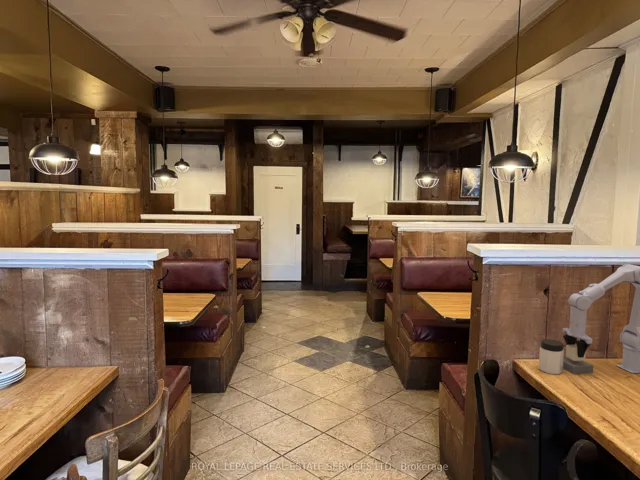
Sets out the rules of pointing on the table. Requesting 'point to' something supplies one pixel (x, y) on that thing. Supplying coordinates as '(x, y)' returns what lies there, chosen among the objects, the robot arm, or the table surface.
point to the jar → (551, 356)
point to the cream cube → (573, 353)
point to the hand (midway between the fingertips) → (575, 354)
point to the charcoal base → (577, 366)
